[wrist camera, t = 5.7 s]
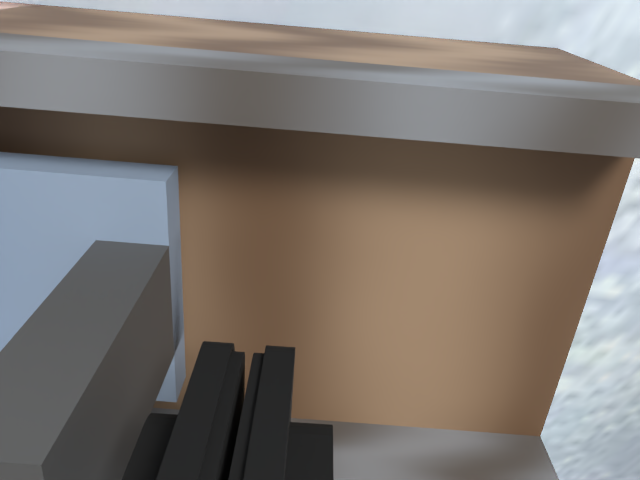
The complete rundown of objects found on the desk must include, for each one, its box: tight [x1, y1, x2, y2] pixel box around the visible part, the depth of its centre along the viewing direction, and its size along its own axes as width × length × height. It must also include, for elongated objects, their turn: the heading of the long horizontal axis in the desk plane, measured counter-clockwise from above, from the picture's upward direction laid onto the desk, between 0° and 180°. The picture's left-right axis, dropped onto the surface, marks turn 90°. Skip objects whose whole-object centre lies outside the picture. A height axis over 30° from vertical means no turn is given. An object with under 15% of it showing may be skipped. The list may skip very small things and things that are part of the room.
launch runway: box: [0, 5, 640, 480], centre depth 16 cm, size 16×11×8 cm
